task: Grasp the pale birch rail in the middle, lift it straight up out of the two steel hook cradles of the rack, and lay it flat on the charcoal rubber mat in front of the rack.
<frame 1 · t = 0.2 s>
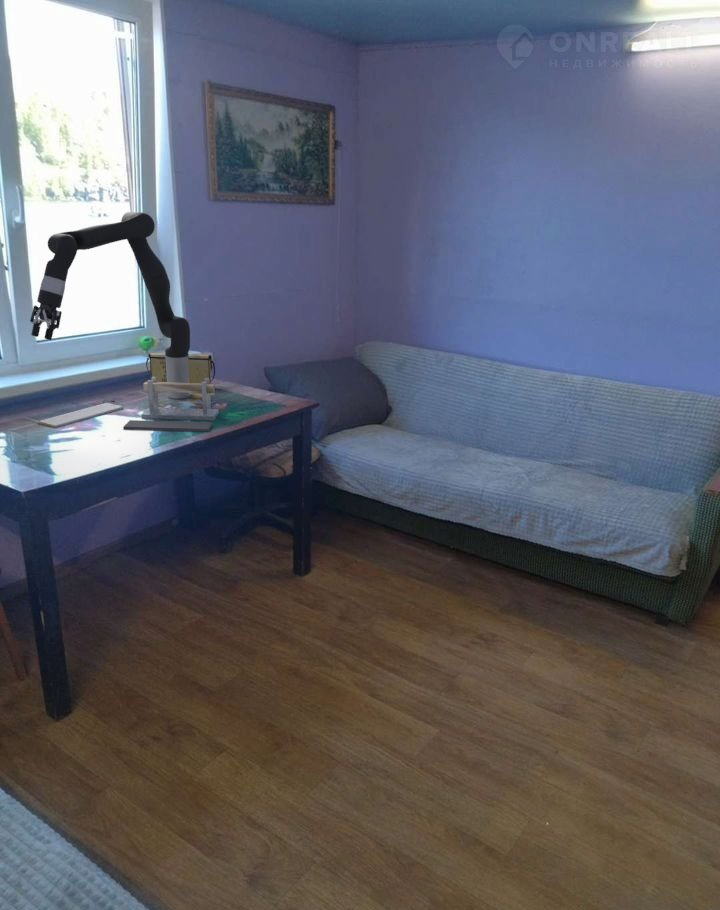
hand: (41, 337, 241), 31 cm above the table, fingers open, 8 cm apart
hook rack: (180, 415, 268), on the table
baseboard molding: (80, 417, 264), on the table
birch rail: (179, 391, 264), point 9 cm above the table, touching hook rack
rubber mat: (168, 427, 253), on the table
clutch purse: (182, 386, 310), on the table
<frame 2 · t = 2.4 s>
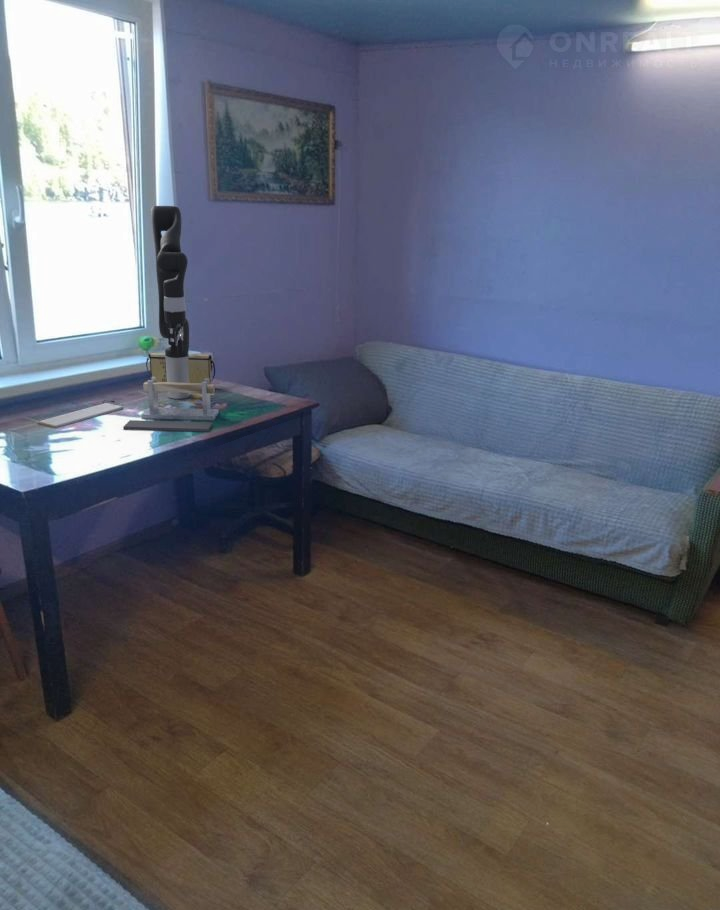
hand: (177, 353, 260), 24 cm above the table, fingers open, 8 cm apart
nothing on the table moved.
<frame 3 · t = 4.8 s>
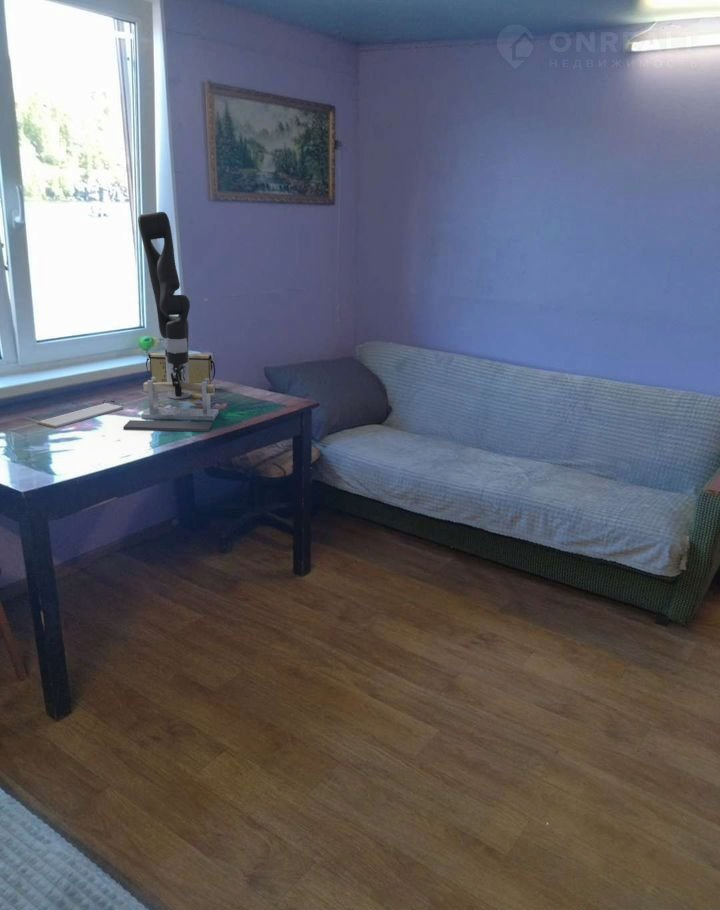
hand: (179, 394, 265), 8 cm above the table, fingers closed on birch rail, 3 cm apart
birch rail: (179, 391, 264), point 10 cm above the table, touching gripper, hook rack
everything else where it was.
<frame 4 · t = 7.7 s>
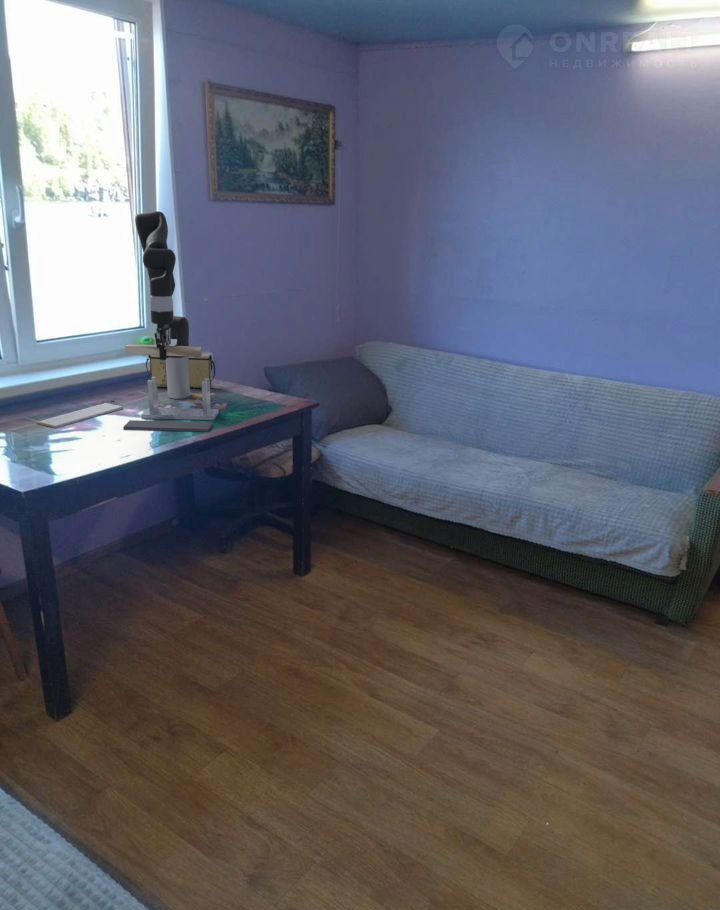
hand: (164, 358, 246), 25 cm above the table, fingers closed on birch rail, 3 cm apart
birch rail: (164, 354, 245), point 26 cm above the table, touching gripper
everything else where it was.
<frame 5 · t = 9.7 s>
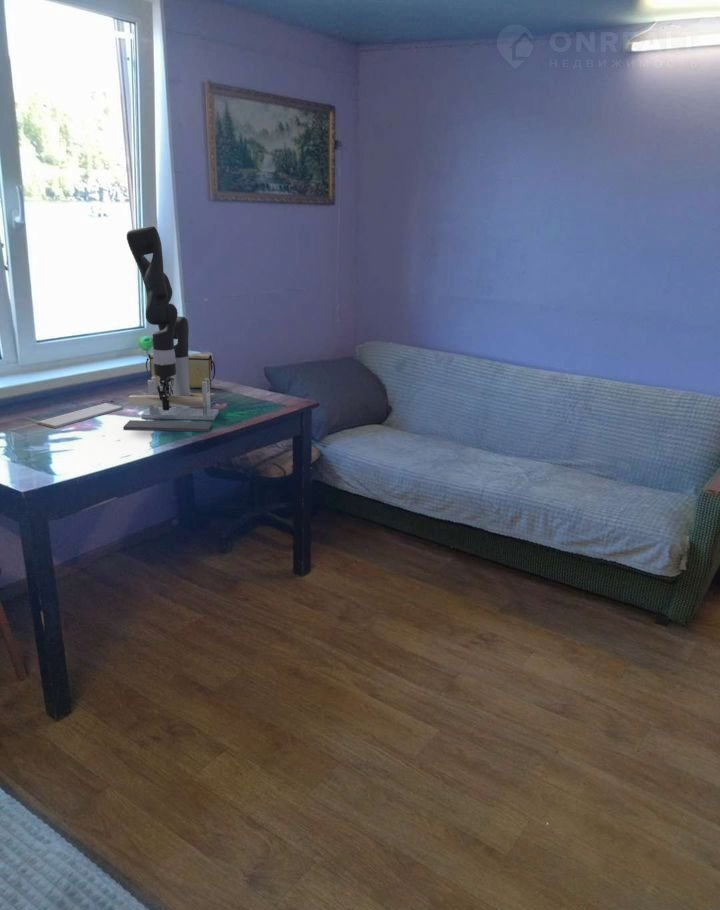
hand: (167, 408, 251), 7 cm above the table, fingers closed on birch rail, 3 cm apart
birch rail: (167, 404, 251), point 8 cm above the table, touching gripper
everything else where it was.
when the fingers open (2 cm above the table, at t = 11.1 s): birch rail drops 2 cm, resting on rubber mat.
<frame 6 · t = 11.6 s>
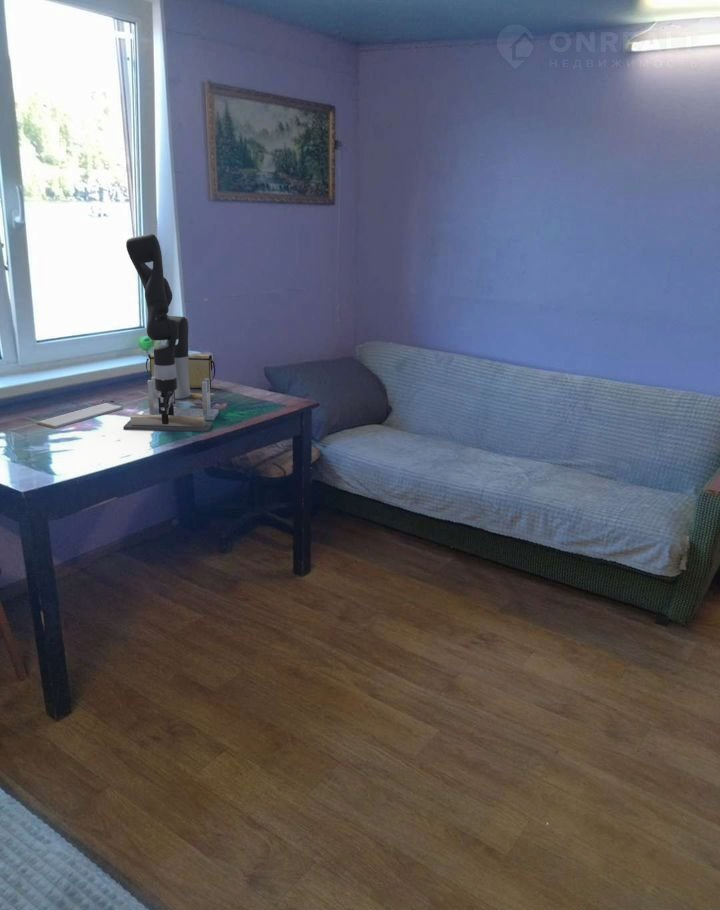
hand: (168, 420, 253), 3 cm above the table, fingers open, 8 cm apart
birch rail: (168, 424, 253), point 1 cm above the table, touching rubber mat
everything else where it was.
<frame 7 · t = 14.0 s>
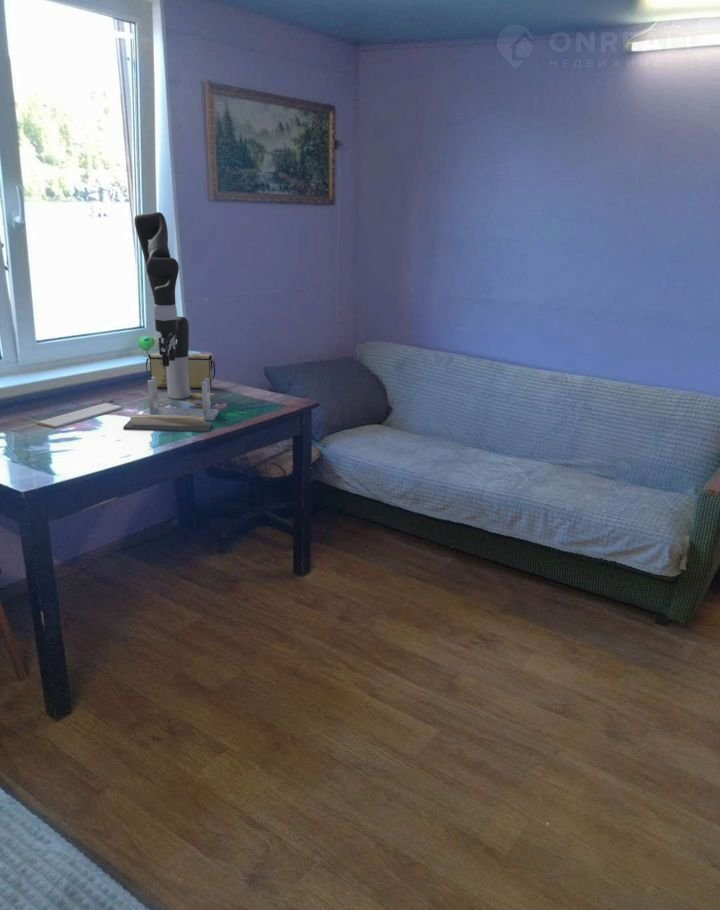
hand: (169, 363, 248), 23 cm above the table, fingers open, 8 cm apart
nothing on the table moved.
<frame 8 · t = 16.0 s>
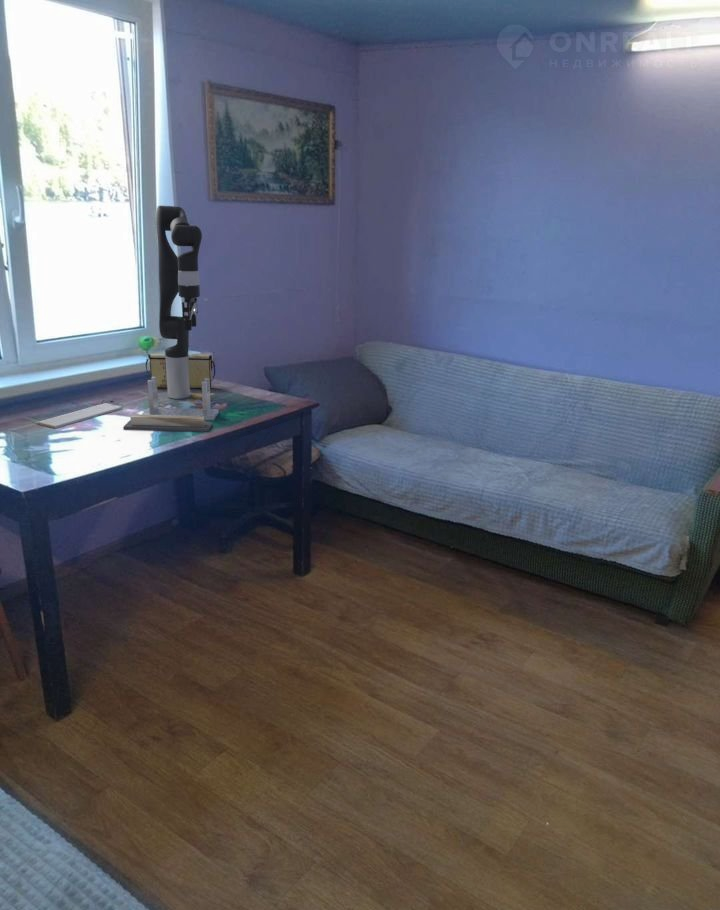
hand: (190, 328, 259), 33 cm above the table, fingers open, 8 cm apart
nothing on the table moved.
at the end: birch rail inside the target area (0.1 cm from its centre), point 1.0 cm above the table; birch rail touching rubber mat; birch rail tilted 0° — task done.
